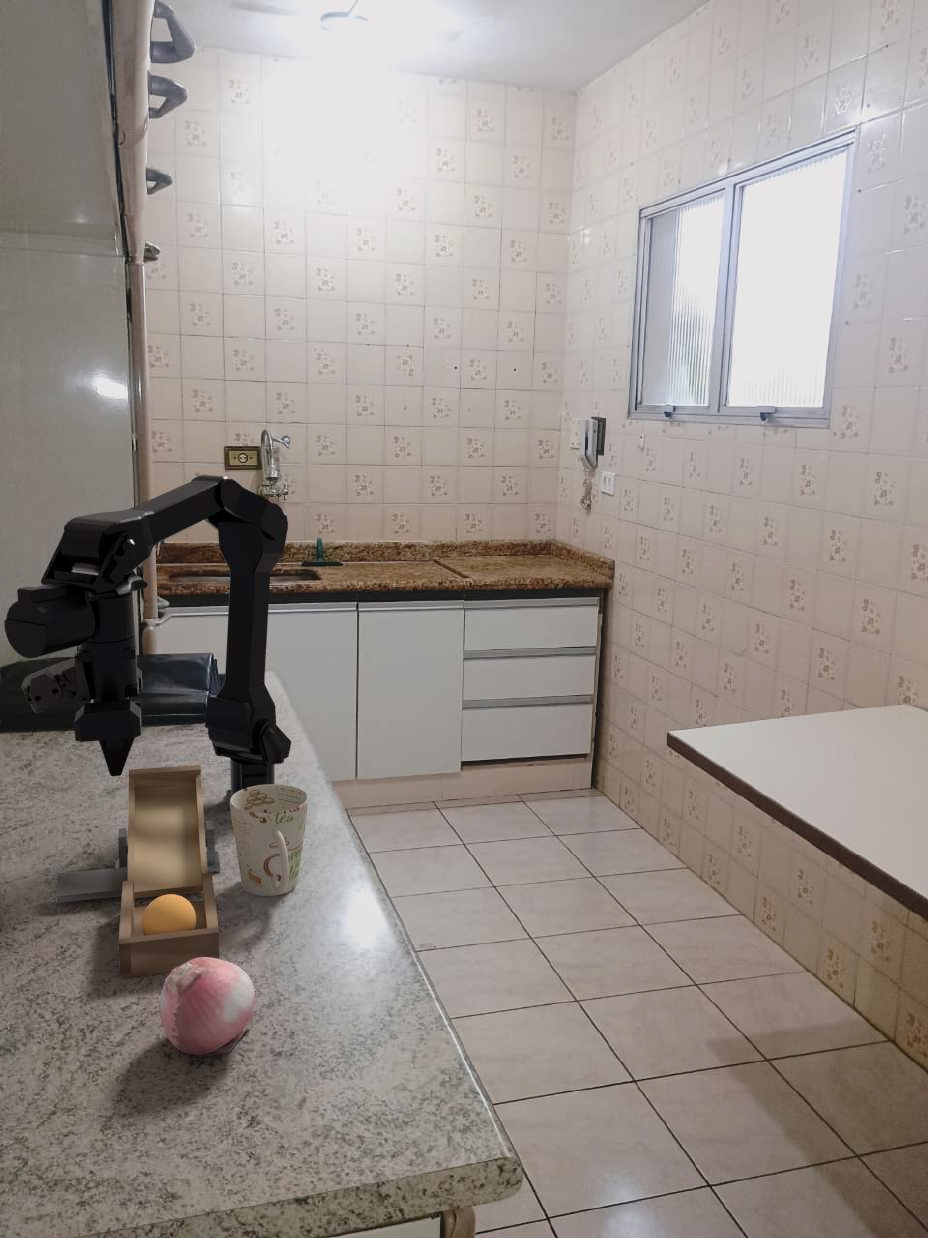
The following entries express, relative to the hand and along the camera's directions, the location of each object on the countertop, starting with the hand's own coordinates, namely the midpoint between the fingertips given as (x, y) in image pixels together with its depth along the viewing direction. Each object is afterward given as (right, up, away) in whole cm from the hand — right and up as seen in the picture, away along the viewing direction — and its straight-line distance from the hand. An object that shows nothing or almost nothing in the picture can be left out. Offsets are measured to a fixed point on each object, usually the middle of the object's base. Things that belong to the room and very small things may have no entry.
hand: (116, 775), depth 108 cm
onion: (+17, -18, -27) cm, 36 cm away
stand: (+5, -11, +3) cm, 12 cm away
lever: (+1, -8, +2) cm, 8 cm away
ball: (+10, -12, -14) cm, 21 cm away
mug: (+18, -13, -1) cm, 22 cm away
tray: (+9, -14, -11) cm, 20 cm away
